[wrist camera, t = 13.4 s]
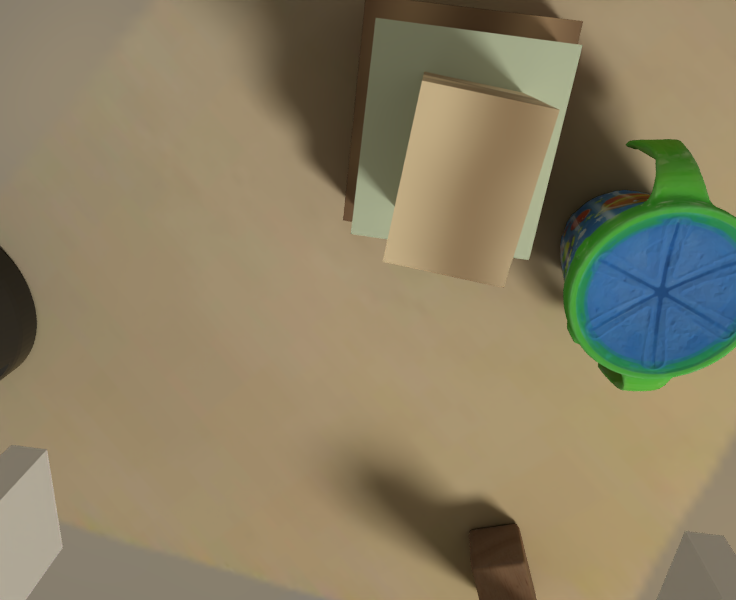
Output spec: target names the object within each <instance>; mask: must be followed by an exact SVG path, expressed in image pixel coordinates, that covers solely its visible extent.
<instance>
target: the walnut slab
mask: <svg viewBox="0 0 736 600" xmlns="http://www.w3.org/2000/svg"><path fill="white" fill-rule="evenodd" d="M376 18H381V19H389V20H397V21H404V22H412V23H419V24H427V25H434V26H442V27H449V28H457V29H465V30H472V31H480V32H487V33H495V34H502V35H510V36H517V37H525V38H533V39H540V40H548V41H555V42H563V43H570V44H578V40H579V36H580V32H581V27H582V23H583V21H576V20H568V19H559V18H551V17H543V16H535V15H527V14H519V13H510V12H502V11H494V10H486V9H478V8H469V7H461V6H453V5H445V4H437V3H429V2H420V1H412V0H365V8H364V18H363V28H362V38H361V48H360V58H359V68H358V78H357V88H356V98H355V108H354V118H353V128H352V137H351V147H350V157H349V167H348V177H347V187H346V197H345V207H344V217H343V220H345V221H352V220H353V211H354V203H355V194H356V185H357V176H358V168H359V159H360V150H361V142H362V133H363V124H364V116H365V107H366V98H367V90H368V81H369V72H370V63H371V55H372V46H373V37H374V29H375V20H376Z"/></svg>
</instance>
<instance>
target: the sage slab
mask: <svg viewBox="0 0 736 600" xmlns="http://www.w3.org/2000/svg"><path fill="white" fill-rule="evenodd" d="M581 49H582V45H578V44H570V43H563V42H555V41H548V40H540V39H533V38H525V37H517V36H510V35H502V34H495V33H487V32H480V31H472V30H465V29H457V28H449V27H442V26H434V25H427V24H419V23H412V22H404V21H397V20H389V19H381V18H376V20H375V29H374V37H373V46H372V55H371V63H370V72H369V81H368V90H367V98H366V107H365V116H364V124H363V133H362V142H361V150H360V159H359V168H358V176H357V185H356V194H355V203H354V211H353V220H352V229H351V234H355V235H362V236H369V237H375V238H382V239H388V235H389V231H390V226H391V221H392V217H393V212H394V208H395V203H396V198H397V194H398V189H399V185H400V180H401V175H402V171H403V166H404V162H405V157H406V152H407V148H408V143H409V139H410V134H411V129H412V125H413V120H414V116H415V111H416V106H417V102H418V97H419V93H420V88H421V83H422V79H423V74H424V72H429V73H434V74H438V75H443V76H448V77H452V78H457V79H462V80H467V81H471V82H476V83H481V84H485V85H490V86H495V87H499V88H504V89H509V90H514V91H518V92H523V93H525V94H527V95H529V96H531V97H533V98H536V99H538V100H540V101H542V102H544V103H546V104H548V105H550V106H553V107H555V108H557V109H559V110H560V111H559V114H558V117H557V120H556V124H555V127H554V130H553V133H552V136H551V139H550V143H549V146H548V149H547V152H546V155H545V158H544V162H543V165H542V168H541V171H540V174H539V178H538V181H537V184H536V187H535V190H534V193H533V197H532V200H531V203H530V206H529V209H528V212H527V216H526V219H525V222H524V225H523V228H522V231H521V235H520V238H519V241H518V244H517V247H516V250H515V254H514V257H513V258H518V259H525V260H529V258H530V254H531V250H532V246H533V242H534V238H535V234H536V230H537V226H538V222H539V218H540V214H541V210H542V206H543V202H544V198H545V194H546V190H547V186H548V182H549V178H550V174H551V170H552V166H553V162H554V158H555V154H556V150H557V146H558V142H559V137H560V133H561V129H562V125H563V121H564V117H565V113H566V109H567V105H568V101H569V97H570V93H571V89H572V85H573V81H574V77H575V73H576V69H577V65H578V61H579V57H580V53H581Z"/></svg>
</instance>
